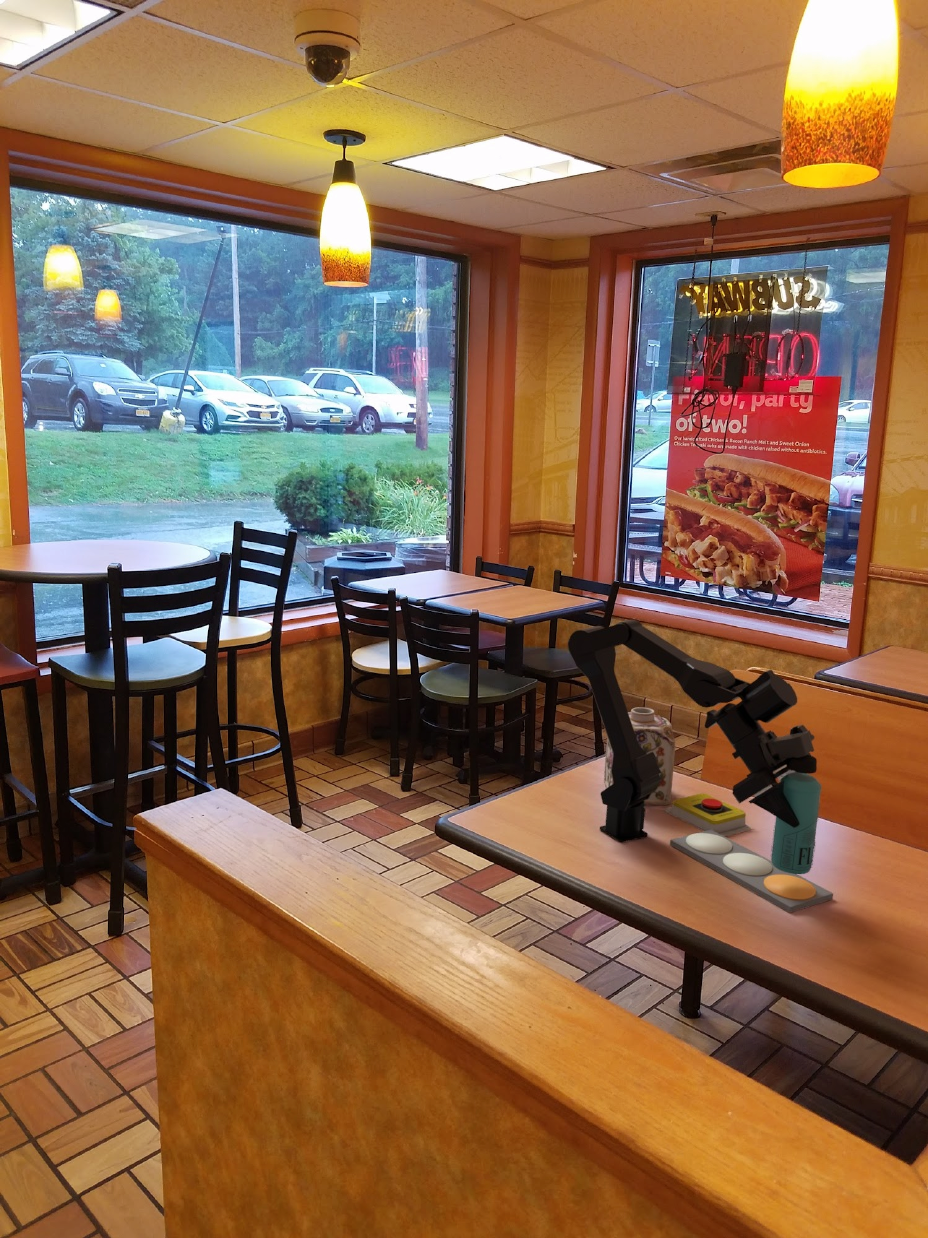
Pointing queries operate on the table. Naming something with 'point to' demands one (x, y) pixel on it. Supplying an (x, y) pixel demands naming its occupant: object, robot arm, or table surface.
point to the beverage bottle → (803, 796)
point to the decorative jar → (651, 738)
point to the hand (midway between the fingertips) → (805, 820)
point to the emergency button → (709, 814)
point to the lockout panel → (752, 871)
